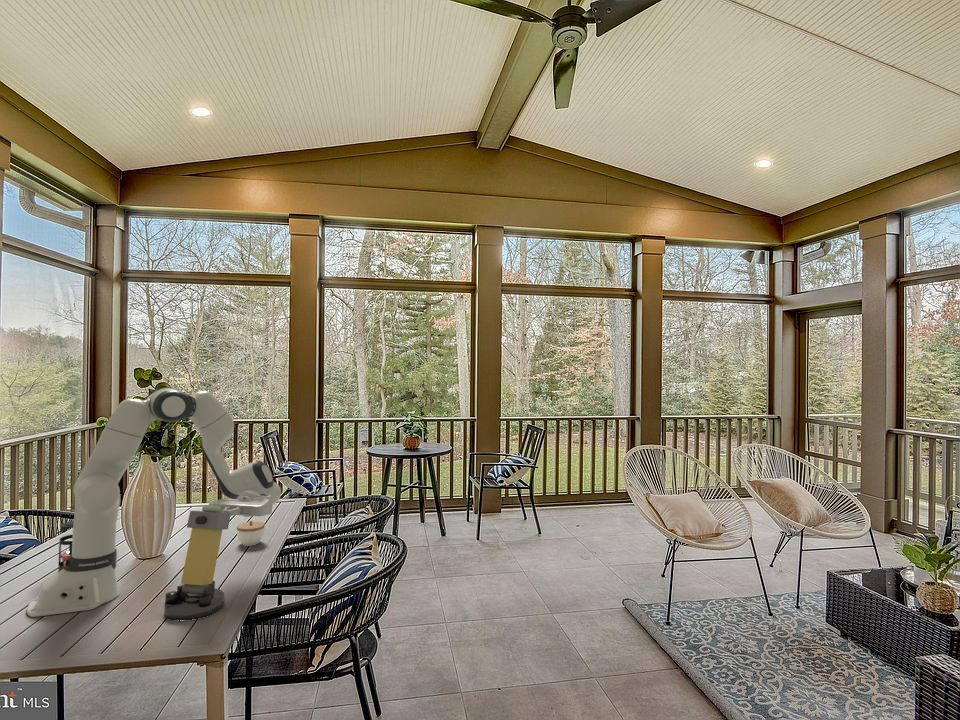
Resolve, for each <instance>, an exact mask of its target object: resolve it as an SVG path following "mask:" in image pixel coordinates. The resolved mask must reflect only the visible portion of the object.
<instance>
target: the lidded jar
mask: <svg viewBox="0 0 960 720" xmlns="http://www.w3.org/2000/svg"><path fill="white" fill-rule="evenodd" d="M265 527H266V524H265V523H264V522H262V521H253V520H250V521H246V522H242V523H239V524H238V525H237V526H236V537H237V540H238V541H239V543H240V544H241V545H242V544H243V545H246V546H245V547H253V545H254V546H257V545H258V544H259V543H260V542H261V541H262V539H263V537H264V534H265ZM256 544H257V545H256ZM243 545H242V546H243Z"/></svg>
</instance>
